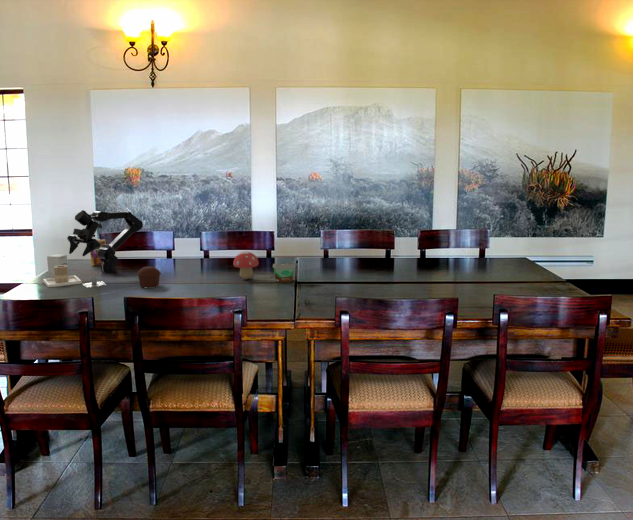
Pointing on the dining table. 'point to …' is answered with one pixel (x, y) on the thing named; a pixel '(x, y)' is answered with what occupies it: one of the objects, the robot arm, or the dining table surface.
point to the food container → (283, 272)
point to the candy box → (96, 254)
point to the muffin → (149, 276)
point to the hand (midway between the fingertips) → (76, 254)
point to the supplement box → (55, 263)
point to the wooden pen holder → (61, 274)
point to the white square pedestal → (94, 282)
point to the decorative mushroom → (246, 264)
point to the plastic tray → (52, 283)
